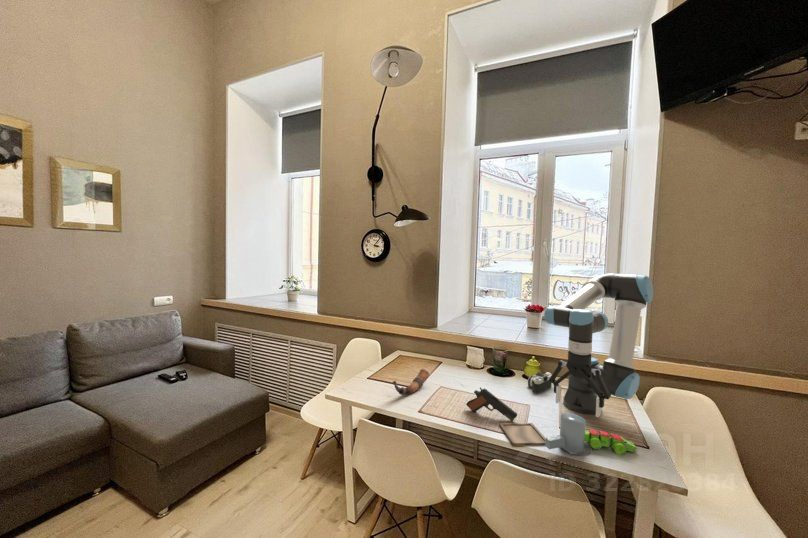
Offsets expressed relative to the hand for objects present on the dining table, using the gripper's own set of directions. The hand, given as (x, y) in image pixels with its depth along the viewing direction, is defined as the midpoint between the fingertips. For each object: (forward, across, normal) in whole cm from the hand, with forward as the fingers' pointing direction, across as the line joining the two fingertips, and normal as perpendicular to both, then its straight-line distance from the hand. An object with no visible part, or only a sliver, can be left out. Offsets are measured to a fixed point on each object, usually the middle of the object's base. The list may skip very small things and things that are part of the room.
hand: (577, 408), depth 117 cm
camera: (+16, -31, +41) cm, 54 cm away
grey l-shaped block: (+13, 0, -4) cm, 14 cm away
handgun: (+16, -36, -6) cm, 40 cm away
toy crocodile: (+14, +8, +7) cm, 18 cm away
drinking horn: (+14, -72, -15) cm, 75 cm away
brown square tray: (+14, -16, -8) cm, 23 cm away
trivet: (+14, 0, -1) cm, 14 cm away
